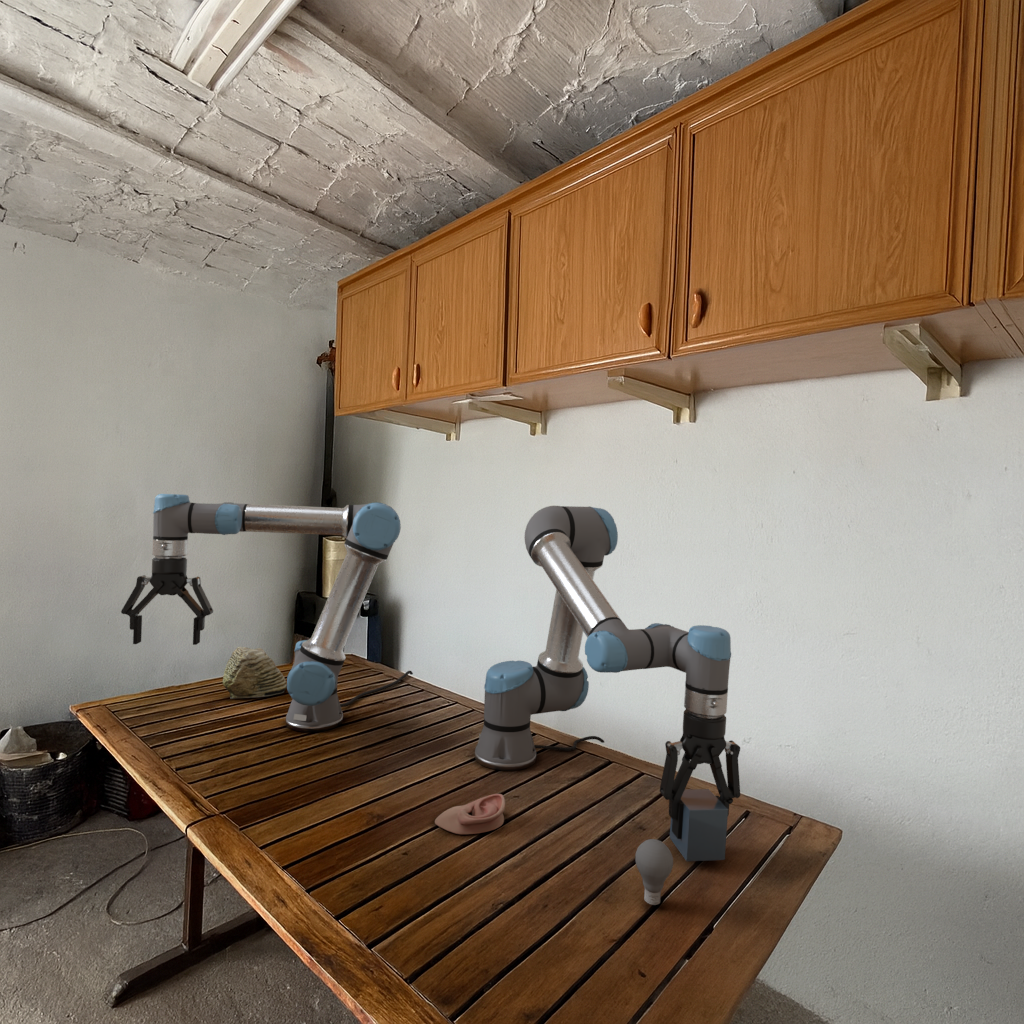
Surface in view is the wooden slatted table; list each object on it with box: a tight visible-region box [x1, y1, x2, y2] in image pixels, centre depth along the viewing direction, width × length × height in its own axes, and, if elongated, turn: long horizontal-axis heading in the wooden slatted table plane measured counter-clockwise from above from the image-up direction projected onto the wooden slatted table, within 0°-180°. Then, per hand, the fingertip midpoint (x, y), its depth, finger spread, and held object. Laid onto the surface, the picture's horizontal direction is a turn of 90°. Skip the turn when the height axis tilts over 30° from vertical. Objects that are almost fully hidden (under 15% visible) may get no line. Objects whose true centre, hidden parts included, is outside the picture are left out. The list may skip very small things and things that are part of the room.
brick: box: [669, 788, 729, 862], centre depth 117 cm, size 7×8×9 cm
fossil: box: [222, 646, 287, 699], centre depth 198 cm, size 9×18×15 cm, turn 132°
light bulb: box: [634, 838, 674, 906], centre depth 103 cm, size 6×6×10 cm
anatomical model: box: [434, 793, 506, 835], centre depth 126 cm, size 13×4×12 cm
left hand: (166, 643), depth 155 cm, fingers open, 13 cm apart
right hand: (697, 834), depth 117 cm, fingers closed on brick, 7 cm apart
